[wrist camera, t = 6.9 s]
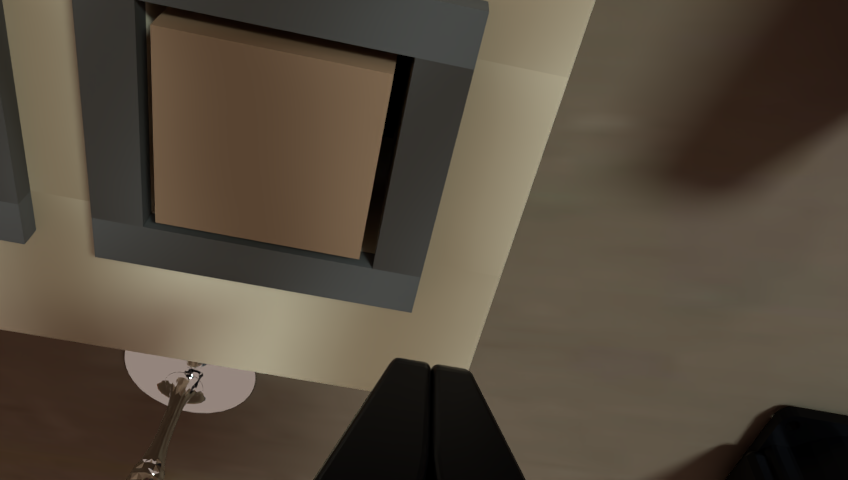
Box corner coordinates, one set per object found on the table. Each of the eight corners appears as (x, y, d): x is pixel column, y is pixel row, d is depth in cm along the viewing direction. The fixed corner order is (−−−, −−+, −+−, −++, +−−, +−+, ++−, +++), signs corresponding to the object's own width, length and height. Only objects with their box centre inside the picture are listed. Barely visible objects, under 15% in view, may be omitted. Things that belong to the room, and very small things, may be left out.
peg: (411, -22, 16) (393, 74, 12) (382, 134, 19) (359, 259, 14) (231, -60, 16) (149, 24, 12) (225, 103, 18) (155, 222, 14)
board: (606, -226, 14) (671, -192, 10) (457, 276, 22) (456, 422, 17) (-383, -470, 13) (-832, -559, 8) (-171, 161, 20) (-346, 289, 16)
